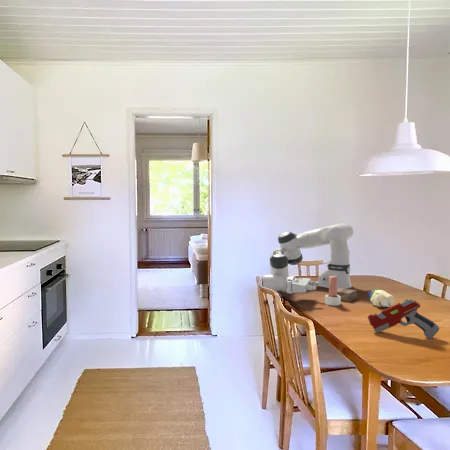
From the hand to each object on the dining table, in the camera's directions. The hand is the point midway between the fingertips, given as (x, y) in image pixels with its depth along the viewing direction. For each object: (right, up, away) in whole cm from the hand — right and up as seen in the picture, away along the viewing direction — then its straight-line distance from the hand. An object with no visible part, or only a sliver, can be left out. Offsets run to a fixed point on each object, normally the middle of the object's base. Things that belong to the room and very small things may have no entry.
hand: (317, 286), depth 216 cm
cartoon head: (+30, -10, -4) cm, 32 cm away
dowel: (+7, -9, -2) cm, 12 cm away
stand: (+16, -9, +9) cm, 21 cm away
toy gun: (+24, -13, -48) cm, 55 cm away
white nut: (+7, -9, -2) cm, 12 cm away
